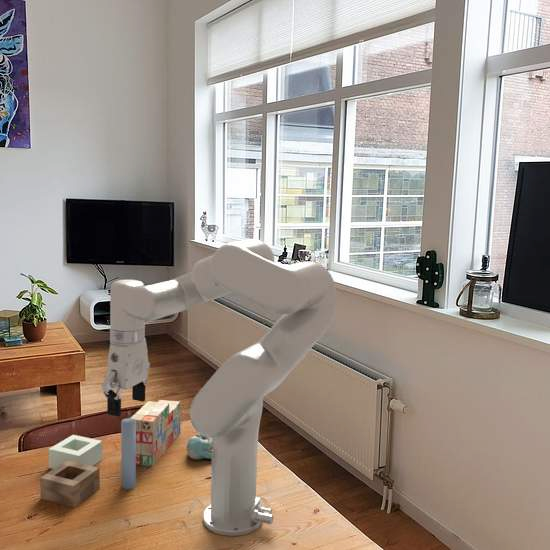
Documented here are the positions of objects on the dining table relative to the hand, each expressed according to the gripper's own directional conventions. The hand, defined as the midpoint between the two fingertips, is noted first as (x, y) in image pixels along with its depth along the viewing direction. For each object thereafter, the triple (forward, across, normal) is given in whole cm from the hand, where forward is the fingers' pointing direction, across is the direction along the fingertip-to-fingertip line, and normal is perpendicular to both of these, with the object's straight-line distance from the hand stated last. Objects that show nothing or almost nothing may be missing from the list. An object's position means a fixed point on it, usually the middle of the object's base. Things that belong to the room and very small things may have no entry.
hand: (126, 407), depth 136 cm
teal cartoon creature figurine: (+19, +22, -10) cm, 31 cm away
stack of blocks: (+20, +20, +4) cm, 29 cm away
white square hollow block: (+20, +4, +17) cm, 26 cm away
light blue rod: (+19, 0, -1) cm, 19 cm away
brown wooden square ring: (+19, -8, +9) cm, 23 cm away
